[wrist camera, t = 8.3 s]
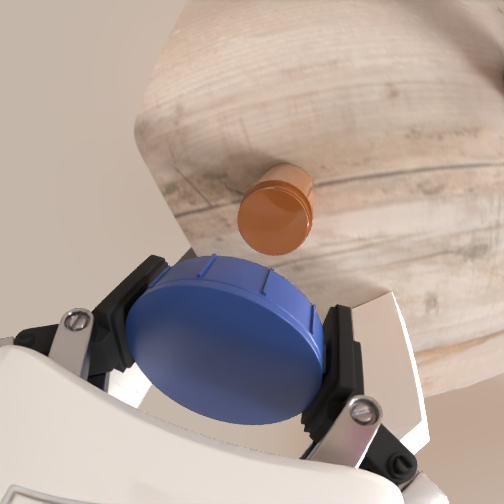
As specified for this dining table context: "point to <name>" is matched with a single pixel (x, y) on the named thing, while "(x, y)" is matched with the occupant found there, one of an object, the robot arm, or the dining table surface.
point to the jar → (278, 210)
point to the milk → (391, 369)
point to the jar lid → (229, 340)
